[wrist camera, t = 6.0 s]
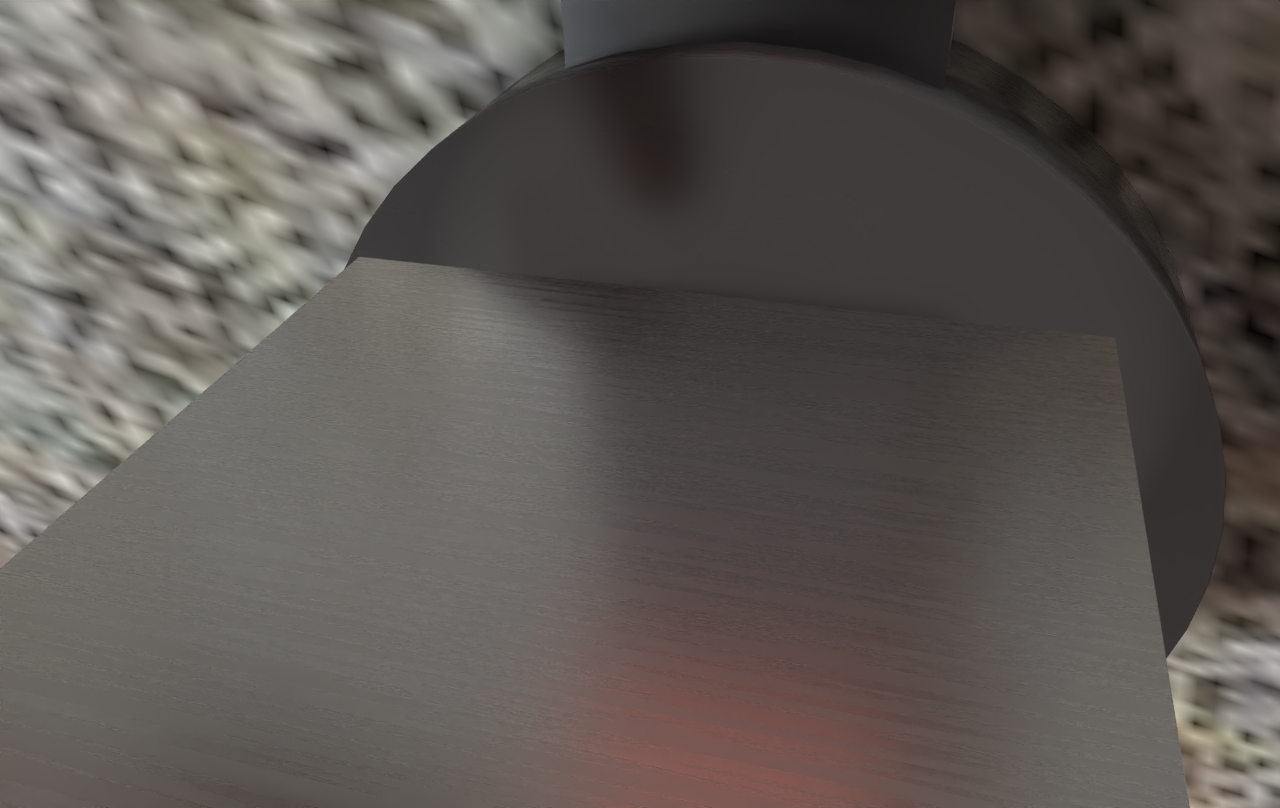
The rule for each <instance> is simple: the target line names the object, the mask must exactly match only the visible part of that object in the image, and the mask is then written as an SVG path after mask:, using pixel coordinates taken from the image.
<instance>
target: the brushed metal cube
mask: <svg viewBox="0 0 1280 808" xmlns="http://www.w3.org/2000/svg"><path fill="white" fill-rule="evenodd" d="M0 808H1190V806H1189V800H1188V793H1187V787H1186V781H1185V775H1184V768H1183V762H1182V756H1181V749H1180V743H1179V737H1178V730H1177V724H1176V718H1175V711H1174V705H1173V699H1172V692H1171V686H1170V680H1169V674H1168V667H1167V661H1166V655H1165V648H1164V642H1163V636H1162V629H1161V623H1160V617H1159V610H1158V604H1157V598H1156V591H1155V585H1154V579H1153V573H1152V566H1151V560H1150V554H1149V547H1148V541H1147V535H1146V528H1145V522H1144V516H1143V509H1142V503H1141V497H1140V490H1139V484H1138V478H1137V472H1136V465H1135V459H1134V453H1133V446H1132V440H1131V434H1130V427H1129V421H1128V415H1127V408H1126V402H1125V396H1124V390H1123V383H1122V377H1121V371H1120V364H1119V358H1118V352H1117V345H1116V339H1115V338H1113V337H1104V336H1094V335H1085V334H1076V333H1066V332H1057V331H1048V330H1038V329H1029V328H1020V327H1010V326H1001V325H992V324H982V323H973V322H964V321H954V320H945V319H936V318H926V317H917V316H908V315H898V314H889V313H880V312H870V311H861V310H852V309H842V308H833V307H824V306H814V305H805V304H796V303H786V302H777V301H768V300H758V299H749V298H740V297H730V296H721V295H711V294H702V293H693V292H683V291H674V290H665V289H655V288H646V287H637V286H627V285H618V284H609V283H599V282H590V281H581V280H571V279H562V278H553V277H543V276H534V275H525V274H515V273H506V272H497V271H487V270H478V269H469V268H459V267H450V266H441V265H431V264H422V263H413V262H403V261H394V260H385V259H375V258H366V257H358V258H357V259H356V260H355V261H354V262H352V263H351V264H350V265H349V266H348V267H347V268H345V269H344V270H343V271H342V272H341V273H340V274H339V275H337V276H336V277H335V278H334V279H333V280H332V281H331V282H329V283H328V284H327V285H326V286H325V287H324V288H322V289H321V290H320V291H319V292H318V293H317V294H316V295H314V296H313V297H312V298H311V299H310V300H309V301H308V302H306V303H305V304H304V305H303V306H302V307H301V308H299V309H298V310H297V311H296V312H295V313H294V314H293V315H291V316H290V317H289V318H288V319H287V320H286V321H285V322H283V323H282V324H281V325H280V326H279V327H278V328H276V329H275V330H274V331H273V332H272V333H271V334H270V335H268V336H267V337H266V338H265V339H264V340H263V341H261V342H260V343H259V344H258V345H257V346H256V347H255V348H253V349H252V350H251V351H250V352H249V353H248V354H247V355H245V356H244V357H243V358H242V359H241V360H240V361H238V362H237V363H236V364H235V365H234V366H233V367H232V368H230V369H229V370H228V371H227V372H226V373H225V374H224V375H222V376H221V377H220V378H219V379H218V380H217V381H215V382H214V383H213V384H212V385H211V386H210V387H209V388H207V389H206V390H205V391H204V392H203V393H202V394H200V395H199V396H198V397H197V398H196V399H195V400H194V401H192V402H191V403H190V404H189V405H188V406H187V407H186V408H184V409H183V410H182V411H181V412H180V413H179V414H177V415H176V416H175V417H174V418H173V419H172V420H171V421H169V422H168V423H167V424H166V425H165V426H164V427H163V428H161V429H160V430H159V431H158V432H157V433H156V434H154V435H153V436H152V437H151V438H150V439H149V440H148V441H146V442H145V443H144V444H143V445H142V446H141V447H140V448H138V449H137V450H136V451H135V452H134V453H133V454H131V455H130V456H129V457H128V458H127V459H126V460H125V461H123V462H122V463H121V464H120V465H119V466H118V467H116V468H115V469H114V470H113V471H112V472H111V473H110V474H108V475H107V476H106V477H105V478H104V479H103V480H102V481H100V482H99V483H98V484H97V485H96V486H95V487H93V488H92V489H91V490H90V491H89V492H88V493H87V494H85V495H84V496H83V497H82V498H81V499H80V500H79V501H77V502H76V503H75V504H74V505H73V506H72V507H70V508H69V509H68V510H67V511H66V512H65V513H64V514H62V515H61V516H60V517H59V518H58V519H57V520H55V521H54V522H53V523H52V524H51V525H50V526H49V527H47V528H46V529H45V530H44V531H43V532H42V533H41V534H39V535H38V536H37V537H36V538H35V539H34V540H32V541H31V542H30V543H29V544H28V545H27V546H26V547H24V548H23V549H22V550H21V551H20V552H19V553H18V554H16V555H15V556H14V557H13V558H12V559H11V560H9V561H8V562H7V563H6V564H5V565H4V566H3V567H1V568H0Z"/></svg>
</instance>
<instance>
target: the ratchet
mask: <svg viewBox="0 0 1280 808" xmlns="http://www.w3.org/2000/svg"><path fill="white" fill-rule="evenodd" d="M957 2H958V0H561V9H562V23H563V38H564V50H562V51H560V52H558V53H556V54H555V55H554V56H552V57H551V58H549V59H548V60H546V61H545V62H544V63H542V64H541V65H539V66H538V67H537V68H535V69H534V70H532V71H531V72H530V73H528V74H527V75H525V76H524V77H522V78H521V79H520V80H518V81H517V82H515V83H514V84H513V85H512V86H510V87H509V88H508V89H507V90H505V91H504V92H503V93H502V94H500V95H499V96H498V97H497V98H495V99H494V100H493V101H492V102H490V103H489V104H488V105H487V106H485V107H484V108H483V109H482V110H480V111H479V112H478V113H476V114H475V115H474V116H473V117H471V118H470V119H469V120H468V121H466V122H465V123H464V124H463V125H461V126H460V127H459V128H458V129H456V130H455V131H454V132H453V133H451V134H450V135H449V136H448V137H446V138H445V139H444V140H443V141H441V142H440V143H439V144H438V145H436V146H435V147H434V148H433V149H431V150H430V151H429V152H428V153H427V154H426V155H425V156H424V157H423V158H422V159H421V160H420V161H419V162H418V163H417V164H416V165H415V166H414V167H413V168H412V169H411V170H410V171H409V172H408V173H407V174H406V175H405V176H404V177H403V178H402V179H401V180H400V181H399V182H398V183H397V184H396V185H395V186H394V187H393V189H392V190H391V191H390V193H389V194H388V196H387V197H386V198H385V200H384V201H383V203H382V204H381V205H380V207H379V208H378V210H377V211H376V212H375V214H374V215H373V216H372V218H371V219H370V221H369V222H368V223H367V225H366V226H365V228H364V230H363V232H362V234H361V236H360V238H359V240H358V243H357V245H356V247H355V249H354V251H353V253H352V255H351V257H350V259H349V261H348V263H347V265H346V267H345V268H347V267H348V266H349V265H350V264H351V263H352V262H354V261H355V260H356V259H357V258H358V257H366V258H375V259H385V260H394V261H403V262H413V263H422V264H431V265H441V266H450V267H459V268H469V269H478V270H487V271H497V272H506V273H515V274H525V275H534V276H543V277H553V278H562V279H571V280H581V281H590V282H599V283H609V284H618V285H627V286H637V287H646V288H655V289H665V290H674V291H683V292H693V293H702V294H711V295H721V296H730V297H740V298H749V299H758V300H768V301H777V302H786V303H796V304H805V305H814V306H824V307H833V308H842V309H852V310H861V311H870V312H880V313H889V314H898V315H908V316H917V317H926V318H936V319H945V320H954V321H964V322H973V323H982V324H992V325H1001V326H1010V327H1020V328H1029V329H1038V330H1048V331H1057V332H1066V333H1076V334H1085V335H1094V336H1104V337H1113V338H1115V339H1116V345H1117V352H1118V358H1119V364H1120V371H1121V377H1122V383H1123V390H1124V396H1125V402H1126V408H1127V415H1128V421H1129V427H1130V434H1131V440H1132V446H1133V453H1134V459H1135V465H1136V472H1137V478H1138V484H1139V490H1140V497H1141V503H1142V509H1143V516H1144V522H1145V528H1146V535H1147V541H1148V547H1149V554H1150V560H1151V566H1152V573H1153V579H1154V585H1155V591H1156V598H1157V604H1158V610H1159V617H1160V623H1161V629H1162V636H1163V642H1164V648H1165V655H1166V658H1167V657H1168V655H1169V654H1170V652H1171V651H1172V650H1173V648H1174V647H1175V645H1176V644H1177V643H1178V641H1179V640H1180V638H1181V637H1182V636H1183V634H1184V633H1185V631H1186V630H1187V628H1188V626H1189V624H1190V622H1191V620H1192V618H1193V616H1194V614H1195V612H1196V609H1197V607H1198V605H1199V603H1200V601H1201V599H1202V597H1203V595H1204V593H1205V590H1206V588H1207V586H1208V584H1209V581H1210V577H1211V573H1212V569H1213V566H1214V562H1215V558H1216V555H1217V551H1218V547H1219V543H1220V540H1221V536H1222V527H1223V514H1224V501H1225V487H1226V476H1225V467H1224V457H1223V448H1222V439H1221V430H1220V423H1219V419H1218V416H1217V412H1216V409H1215V405H1214V401H1213V398H1212V394H1211V391H1210V387H1209V384H1208V380H1207V376H1206V373H1205V369H1204V366H1203V362H1202V359H1201V355H1200V351H1199V348H1198V344H1197V341H1196V337H1195V334H1194V330H1193V326H1192V323H1191V319H1190V316H1189V312H1188V309H1187V305H1186V302H1185V299H1184V295H1183V292H1182V288H1181V285H1180V282H1179V278H1178V275H1177V272H1176V268H1175V265H1174V262H1173V259H1172V257H1171V255H1170V253H1169V251H1168V248H1167V246H1166V244H1165V242H1164V240H1163V238H1162V236H1161V234H1160V232H1159V230H1158V228H1157V226H1156V224H1155V222H1154V220H1153V218H1152V216H1151V214H1150V211H1149V209H1148V208H1147V206H1146V205H1145V204H1144V202H1143V201H1142V199H1141V198H1140V196H1139V195H1138V194H1137V192H1136V191H1135V189H1134V188H1133V186H1132V185H1131V184H1130V182H1129V181H1128V179H1127V178H1126V177H1125V175H1124V174H1123V172H1122V171H1121V169H1120V168H1119V167H1118V165H1117V164H1116V162H1115V161H1114V160H1113V159H1112V158H1111V157H1110V156H1109V155H1108V154H1107V152H1106V151H1105V150H1104V149H1103V148H1102V147H1101V146H1100V145H1099V144H1098V143H1097V142H1096V141H1095V140H1094V139H1093V138H1092V137H1091V136H1090V135H1089V134H1088V133H1087V132H1086V131H1085V130H1084V128H1083V127H1082V126H1081V125H1080V124H1079V123H1078V122H1077V121H1076V120H1075V119H1074V118H1073V117H1072V116H1071V115H1069V114H1068V113H1067V112H1066V111H1064V110H1063V109H1062V108H1060V107H1059V106H1058V105H1057V104H1055V103H1054V102H1053V101H1051V100H1050V99H1049V98H1048V97H1046V96H1045V95H1044V94H1042V93H1041V92H1040V91H1039V90H1037V89H1036V88H1035V87H1033V86H1032V85H1031V84H1029V83H1028V82H1027V81H1026V80H1024V79H1023V78H1022V77H1020V76H1018V75H1016V74H1015V73H1013V72H1011V71H1009V70H1008V69H1006V68H1004V67H1002V66H1001V65H999V64H997V63H995V62H994V61H992V60H990V59H988V58H987V57H985V56H983V55H981V54H980V53H978V52H976V51H974V50H973V49H971V48H969V47H967V46H965V45H963V44H960V43H958V42H955V41H953V32H954V25H955V17H956V9H957Z"/></svg>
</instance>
